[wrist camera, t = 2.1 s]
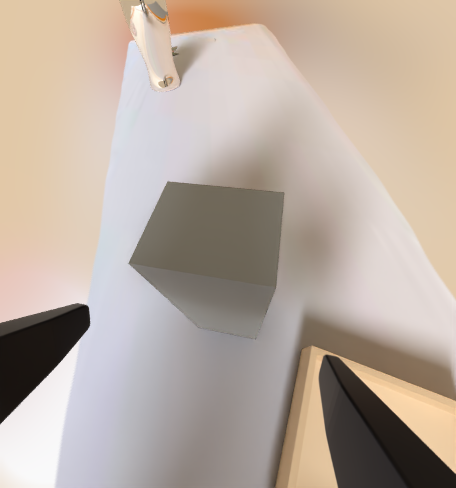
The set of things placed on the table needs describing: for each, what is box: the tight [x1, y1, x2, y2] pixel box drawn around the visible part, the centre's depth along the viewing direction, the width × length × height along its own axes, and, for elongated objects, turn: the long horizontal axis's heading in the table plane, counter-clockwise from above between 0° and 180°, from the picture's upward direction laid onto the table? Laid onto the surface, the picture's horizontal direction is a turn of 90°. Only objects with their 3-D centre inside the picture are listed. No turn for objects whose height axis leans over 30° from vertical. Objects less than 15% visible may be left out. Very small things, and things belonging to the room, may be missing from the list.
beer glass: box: [119, 0, 180, 92], centre depth 37 cm, size 7×7×15 cm
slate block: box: [129, 182, 284, 339], centre depth 13 cm, size 5×4×13 cm
